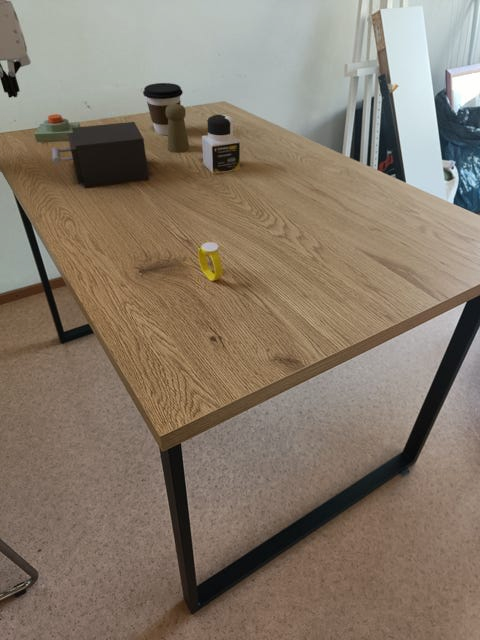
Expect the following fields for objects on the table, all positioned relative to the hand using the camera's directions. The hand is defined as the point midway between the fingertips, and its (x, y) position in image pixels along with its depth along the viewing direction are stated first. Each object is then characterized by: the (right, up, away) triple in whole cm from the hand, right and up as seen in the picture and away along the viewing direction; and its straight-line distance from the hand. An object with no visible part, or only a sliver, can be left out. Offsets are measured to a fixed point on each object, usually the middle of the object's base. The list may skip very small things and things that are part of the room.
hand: (13, 95), depth 99 cm
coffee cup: (+28, +6, +34) cm, 44 cm away
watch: (+45, -42, -22) cm, 66 cm away
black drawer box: (+19, -14, +10) cm, 26 cm away
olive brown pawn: (+33, -3, +23) cm, 41 cm away
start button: (-2, +6, +28) cm, 29 cm away
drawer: (+16, -14, +8) cm, 23 cm away
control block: (-2, +3, +30) cm, 30 cm away
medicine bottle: (+45, -11, +14) cm, 49 cm away
